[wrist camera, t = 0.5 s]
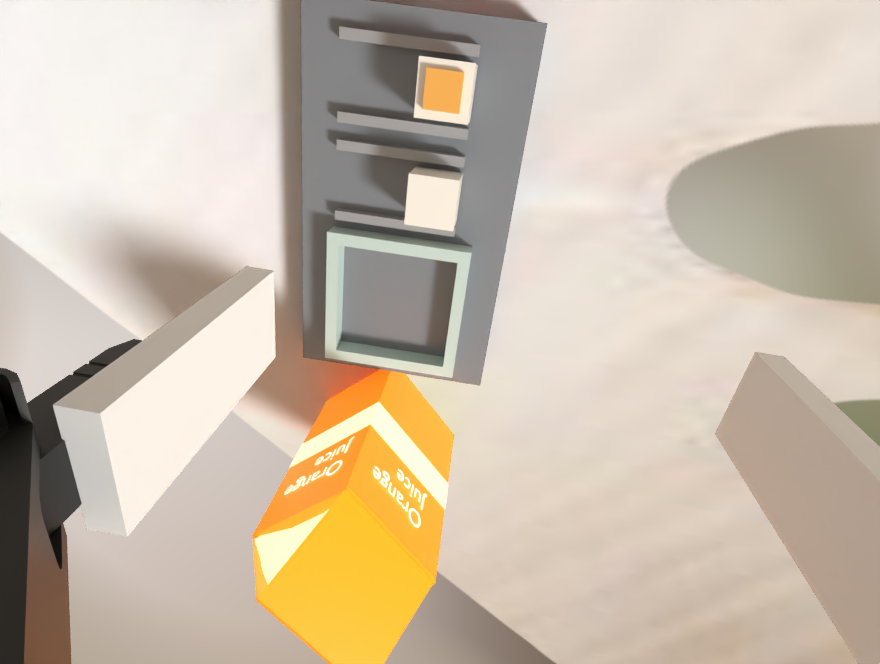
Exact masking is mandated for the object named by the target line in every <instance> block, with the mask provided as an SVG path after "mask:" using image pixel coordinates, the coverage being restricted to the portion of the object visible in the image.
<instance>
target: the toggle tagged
mask: <svg viewBox="0 0 880 664" xmlns="http://www.w3.org/2000/svg"><path fill="white" fill-rule="evenodd" d="M477 67H478V65H477V64H476V63H470V62H463V61H455V60H448V59H440V58H433V57H425V56H419V61H418V73H417V84H416V95H415V107H414V118H421V119H428V120H436V121H443V122H450V123H457V124H465V125H468V124H469V122H470V119H471V112H472V104H473V97H474V90H475V82H476V75H477Z"/></svg>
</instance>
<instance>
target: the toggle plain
mask: <svg viewBox="0 0 880 664" xmlns="http://www.w3.org/2000/svg"><path fill="white" fill-rule="evenodd" d="M462 178H463V173H461V172H453V171H446V170H439V169H432V168H425V167H418V166H416V167H415V168H414V169H413V170H412V171H411V172H410V173H409V175H408V186H407V198H406V209H405V220H404V224H405V225H412V226H419V227H426V228H432V229H439V230H446V231H453V230H454V227H455V224H456V221H457V214H458V207H459V200H460V192H461V185H462Z"/></svg>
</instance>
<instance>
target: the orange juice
mask: <svg viewBox="0 0 880 664" xmlns="http://www.w3.org/2000/svg"><path fill="white" fill-rule="evenodd" d="M453 439H454V434H453V433H452V432H451V430H450V429H449V428H448V427H447V426H446V424H445V423H444V422H443V421H442V419H441V418H440V417H439V416H438V414H437V413H436V412H435V411H434V409H433V408H432V407H431V406H430V404H429V403H428V402H427V401H426V399H425V398H424V397H423V396H422V394H421V393H420V392H419V391H418V389H417V388H416V387H415V386H414V385H413V383H412V382H411V381H410V380H409V378H408V377H407V376H406V375H405V373H399V372H393V371H386V370H378V371H376V372H375V373H373V374H371V375H369V376H368V377H366V378H364V379H363V380H361V381H359V382H357V383H356V384H354V385H352V386H351V387H349V388H347V389H345V390H344V391H342V392H340V393H339V394H337V395H335V396H333V397H332V398H330V399H328V400H327V401H326V403H325V405H324V407H323V408H322V410H321V412H320V414H319V416H318V418H317V419H316V421H315V423H314V425H313V427H312V428H311V430H310V432H309V434H308V436H307V438H306V439H305V441H304V443H303V444H302V445H301V447H300V449H299V451H298V452H297V454H296V456H295V458H294V460H293V462H292V463H291V465H290V467H289V470H288V472H287V474H286V476H285V478H284V479H283V481H282V483H281V485H280V487H279V488H278V490H277V492H276V494H275V496H274V498H273V499H272V501H271V503H270V505H269V507H268V508H267V511H266V512H265V514H264V516H263V518H262V520H261V521H260V523H259V525H258V527H257V528H256V530H255V532H254V534H253V550H254V566H255V583H256V599H257V602H258V603H260V604H261V605H262V606H263V607H264V608H265V609H267V610H268V611H269V612H270V613H271V614H272V615H273V616H275V617H276V618H277V619H278V620H279V621H281V622H282V623H283V624H284V625H285V626H286V627H287V628H288V629H290V630H291V631H292V632H293V633H294V634H295V635H296V636H298V637H299V638H300V639H301V640H302V641H303V642H305V643H306V644H307V645H308V646H309V647H311V648H312V649H313V650H314V651H315V652H316V653H317V654H318V655H320V656H321V657H322V658H323V659H324V660H325V661H326V662H328V663H329V664H384V662H385V661H386V659H387V657H388V656H389V654H390V653H391V651H392V649H393V647H394V646H395V644H396V643H397V641H398V639H399V638H400V636H401V634H402V633H403V631H404V630H405V628H406V626H407V625H408V623H409V622H410V620H411V618H412V617H413V615H414V613H415V612H416V610H417V609H418V607H419V605H420V603H421V602H422V600H423V599H424V597H425V596H426V594H427V592H428V591H429V589H430V587H431V586H432V585H433V584H435V580H436V572H437V564H438V556H439V548H440V540H441V533H442V525H443V517H444V510H445V507H446V499H447V492H448V478H449V470H450V462H451V454H452V447H453Z"/></svg>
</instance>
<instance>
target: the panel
mask: <svg viewBox="0 0 880 664" xmlns="http://www.w3.org/2000/svg"><path fill="white" fill-rule="evenodd" d="M546 28H547V23H542V22H534V21H526V20H518V19H510V18H503V17H495V16H487V15H479V14H472V13H464V12H456V11H448V10H440V9H433V8H425V7H417V6H409V5H401V4H394V3H386V2H378V1H370V0H301V81H302V240H303V357H305V358H311V359H317V360H324V361H330V362H336V363H342V364H349V365H355V366H361V367H368V368H374V369H380V370H386V371H393V372H399V373H405V374H411V375H418V376H424V377H430V378H436V379H443V380H449V381H455V382H461V383H468V384H474V385H480V383H481V377H482V372H483V367H484V361H485V356H486V351H487V345H488V340H489V334H490V329H491V324H492V318H493V313H494V307H495V302H496V297H497V291H498V286H499V281H500V275H501V270H502V264H503V259H504V254H505V248H506V243H507V238H508V232H509V227H510V221H511V216H512V211H513V205H514V200H515V194H516V189H517V184H518V178H519V173H520V168H521V162H522V157H523V151H524V146H525V141H526V135H527V130H528V125H529V119H530V114H531V108H532V103H533V98H534V92H535V87H536V82H537V76H538V71H539V65H540V60H541V55H542V49H543V44H544V38H545V33H546ZM419 56H425V57H433V58H440V59H448V60H455V61H463V62H470V63H476V64H477V65H478V67H477V75H476V82H475V90H474V97H473V104H472V112H471V119H470V122H469V124H468V125H465V124H457V123H450V122H443V121H436V120H428V119H421V118H414V107H415V95H416V84H417V73H418V61H419ZM416 166H418V167H425V168H432V169H439V170H446V171H453V172H461V173H463V178H462V185H461V192H460V200H459V207H458V214H457V221H456V224H455V227H454V230H453V231H446V230H439V229H432V228H426V227H419V226H412V225H405V224H404V220H405V209H406V198H407V186H408V175H409V173H410V172H411V171H412V170H413V169H414V168H415V167H416Z"/></svg>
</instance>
